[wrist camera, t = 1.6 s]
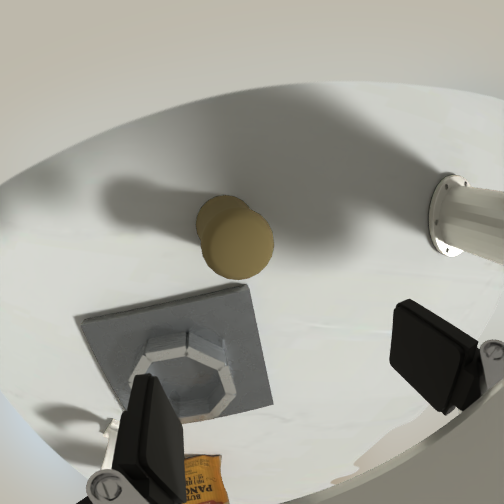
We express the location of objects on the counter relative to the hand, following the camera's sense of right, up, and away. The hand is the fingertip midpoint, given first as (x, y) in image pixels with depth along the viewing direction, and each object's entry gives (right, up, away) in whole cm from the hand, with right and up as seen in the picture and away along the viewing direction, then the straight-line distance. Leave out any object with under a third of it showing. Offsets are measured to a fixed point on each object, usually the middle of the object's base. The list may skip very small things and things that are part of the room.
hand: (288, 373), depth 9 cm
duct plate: (-10, -10, +23) cm, 27 cm away
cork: (-4, +7, +20) cm, 21 cm away
